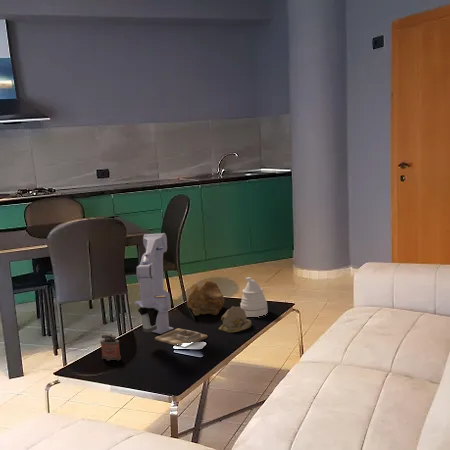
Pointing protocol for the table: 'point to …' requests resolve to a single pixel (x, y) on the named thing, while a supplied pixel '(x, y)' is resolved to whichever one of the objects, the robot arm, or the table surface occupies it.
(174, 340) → the birch board
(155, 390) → the table surface
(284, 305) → the table surface
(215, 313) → the rough brown rock
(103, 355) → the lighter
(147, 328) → the peg
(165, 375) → the table surface
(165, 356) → the table surface
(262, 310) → the honey pot
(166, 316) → the robot arm
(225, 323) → the ceramic model
